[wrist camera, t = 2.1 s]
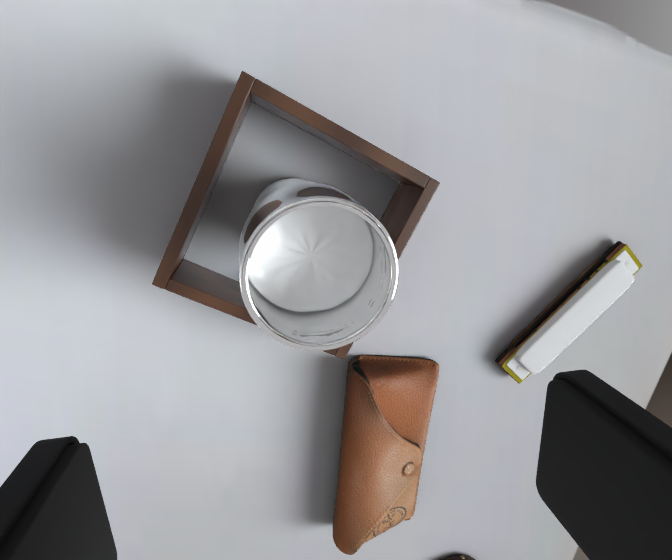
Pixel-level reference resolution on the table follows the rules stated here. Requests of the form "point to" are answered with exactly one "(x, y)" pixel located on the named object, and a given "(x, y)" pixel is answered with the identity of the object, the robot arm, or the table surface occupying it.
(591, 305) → the harmonica
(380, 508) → the sunglasses case
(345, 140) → the crate
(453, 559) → the compass
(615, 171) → the table surface
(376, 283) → the beer glass
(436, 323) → the table surface
